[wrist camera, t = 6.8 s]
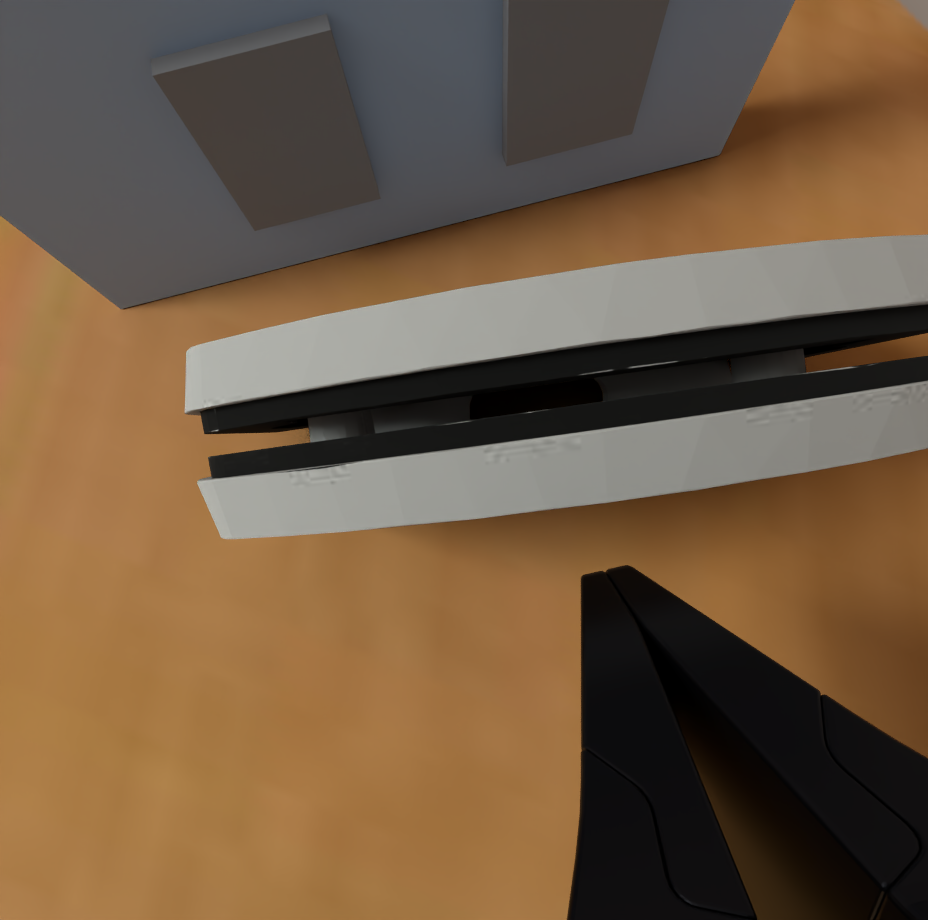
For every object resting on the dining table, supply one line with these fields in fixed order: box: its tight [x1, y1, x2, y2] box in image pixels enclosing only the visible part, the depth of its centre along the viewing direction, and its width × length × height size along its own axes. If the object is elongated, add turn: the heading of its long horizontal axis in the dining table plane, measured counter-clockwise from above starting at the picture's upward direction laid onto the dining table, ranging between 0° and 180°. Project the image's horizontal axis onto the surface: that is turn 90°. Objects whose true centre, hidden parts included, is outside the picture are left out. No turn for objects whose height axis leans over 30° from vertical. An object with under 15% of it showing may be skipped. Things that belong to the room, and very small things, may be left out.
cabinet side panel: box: [0, 0, 795, 309], centre depth 14 cm, size 2×22×10 cm, turn 104°
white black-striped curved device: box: [185, 235, 928, 539], centre depth 13 cm, size 17×5×10 cm, turn 97°
